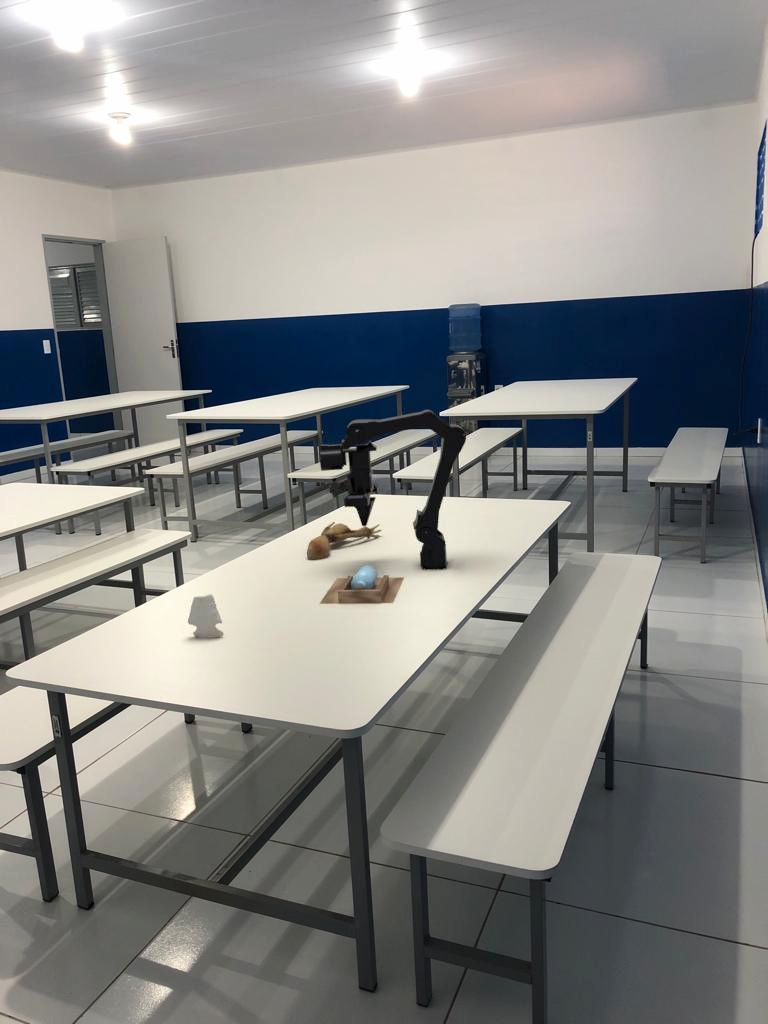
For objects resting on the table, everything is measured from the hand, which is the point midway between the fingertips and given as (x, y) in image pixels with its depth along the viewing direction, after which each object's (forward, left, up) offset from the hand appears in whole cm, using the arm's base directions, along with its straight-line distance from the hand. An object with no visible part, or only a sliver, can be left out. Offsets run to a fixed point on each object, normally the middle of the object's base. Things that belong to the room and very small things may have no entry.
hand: (364, 525), depth 225 cm
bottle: (-3, +13, -10) cm, 17 cm away
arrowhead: (+28, +47, -13) cm, 56 cm away
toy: (+15, -27, -14) cm, 34 cm away
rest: (-2, +17, -13) cm, 21 cm away
